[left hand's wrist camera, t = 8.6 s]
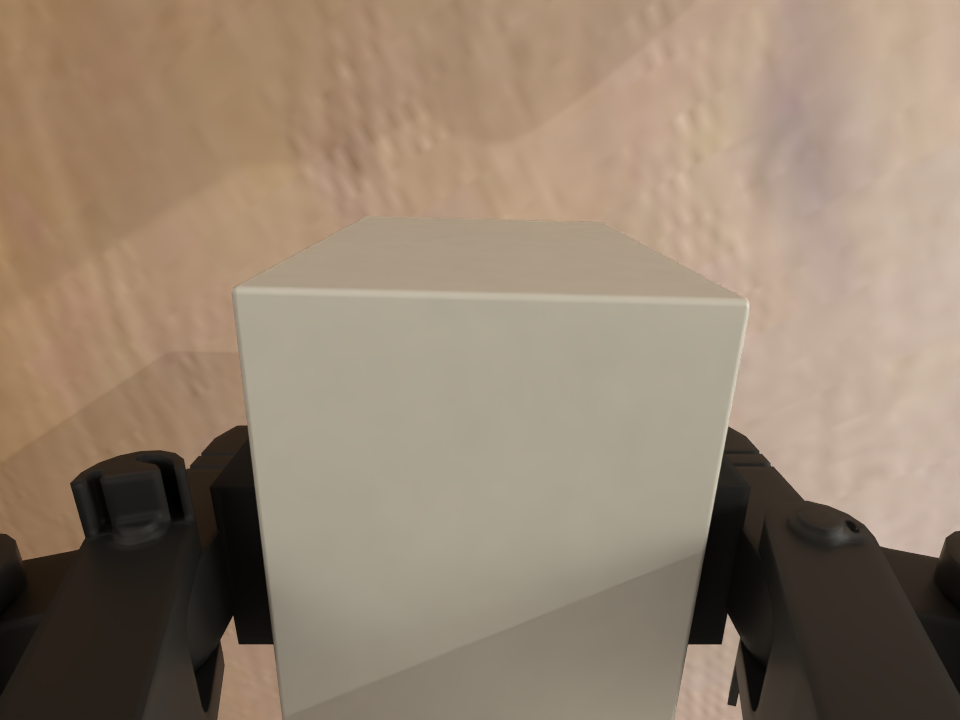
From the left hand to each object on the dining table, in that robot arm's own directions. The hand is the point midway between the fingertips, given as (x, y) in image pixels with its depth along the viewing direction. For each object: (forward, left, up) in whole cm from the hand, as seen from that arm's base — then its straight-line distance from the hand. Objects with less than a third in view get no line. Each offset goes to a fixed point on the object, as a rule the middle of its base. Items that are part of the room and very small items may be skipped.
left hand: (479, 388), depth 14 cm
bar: (+26, 0, 0) cm, 26 cm away
